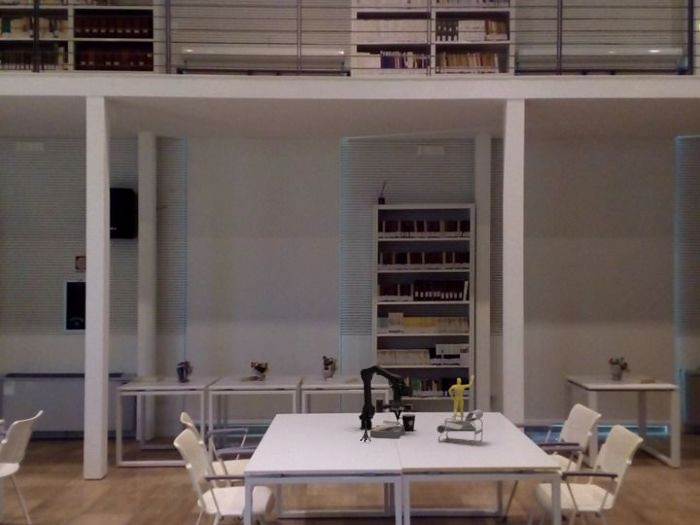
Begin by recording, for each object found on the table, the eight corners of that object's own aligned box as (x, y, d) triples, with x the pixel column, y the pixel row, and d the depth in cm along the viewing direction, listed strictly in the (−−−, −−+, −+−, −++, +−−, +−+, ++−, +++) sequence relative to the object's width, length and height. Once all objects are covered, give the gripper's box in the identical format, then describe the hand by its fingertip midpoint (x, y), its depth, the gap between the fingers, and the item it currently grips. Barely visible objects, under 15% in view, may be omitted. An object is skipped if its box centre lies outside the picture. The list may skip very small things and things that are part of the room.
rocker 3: (382, 423, 515) (383, 421, 515) (384, 422, 519) (384, 420, 519) (398, 425, 512) (398, 423, 512) (399, 424, 516) (399, 422, 516)
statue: (472, 426, 541) (471, 373, 542) (477, 431, 521) (477, 376, 522) (442, 426, 540) (441, 373, 541) (446, 431, 521) (446, 376, 522)
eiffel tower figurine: (359, 439, 498) (359, 417, 498) (375, 439, 496) (375, 418, 496) (354, 443, 483) (354, 421, 483) (371, 444, 481) (371, 422, 481)
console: (370, 437, 500) (370, 428, 500) (377, 431, 522) (377, 422, 522) (398, 438, 496) (398, 429, 496) (404, 432, 517) (404, 423, 517)
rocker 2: (378, 429, 501) (378, 427, 501) (380, 428, 505) (379, 426, 505) (394, 426, 499) (393, 424, 499) (395, 425, 503) (395, 423, 503)
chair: (476, 446, 474) (476, 412, 475) (436, 442, 486) (436, 409, 486) (483, 442, 486) (483, 409, 487) (444, 438, 498) (444, 406, 498)
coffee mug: (415, 429, 528) (415, 414, 528) (415, 431, 519) (415, 416, 519) (397, 429, 529) (397, 413, 529) (397, 431, 520) (397, 416, 521)
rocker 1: (381, 427, 508) (380, 425, 508) (382, 426, 512) (382, 424, 512) (396, 424, 506) (395, 422, 506) (397, 423, 509) (397, 421, 510)
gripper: (380, 397, 509) (381, 421, 509) (409, 397, 505) (410, 422, 504) (384, 394, 520) (384, 418, 520) (412, 395, 516) (412, 419, 515)
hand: (397, 420), depth 514 cm, fingers closed
